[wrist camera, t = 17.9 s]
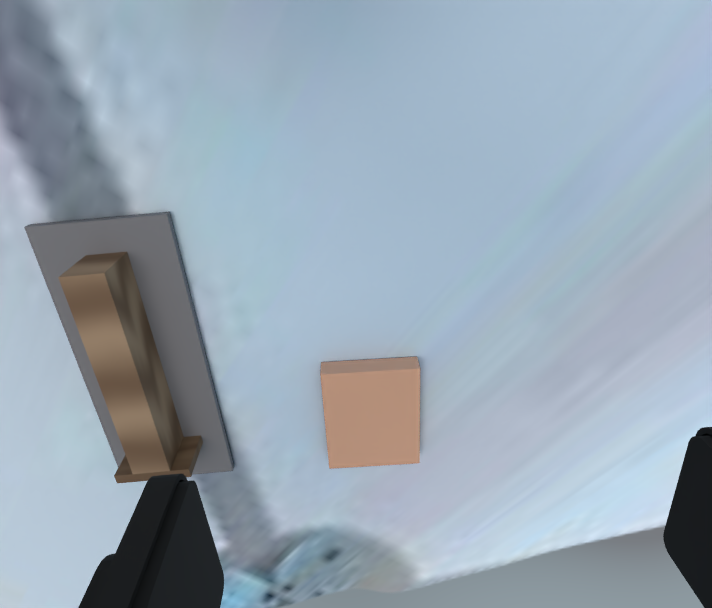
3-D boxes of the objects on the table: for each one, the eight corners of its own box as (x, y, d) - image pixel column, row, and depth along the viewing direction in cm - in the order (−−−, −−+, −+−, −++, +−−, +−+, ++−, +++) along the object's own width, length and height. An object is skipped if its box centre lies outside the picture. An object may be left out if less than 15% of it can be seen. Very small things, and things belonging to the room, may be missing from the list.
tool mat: (29, 224, 36) (24, 227, 35) (169, 211, 36) (166, 214, 35) (125, 475, 46) (123, 480, 46) (234, 465, 46) (232, 470, 46)
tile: (320, 374, 40) (329, 468, 45) (420, 368, 40) (419, 463, 45) (321, 360, 42) (329, 452, 46) (416, 354, 42) (416, 446, 46)
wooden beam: (65, 257, 36) (35, 279, 33) (148, 249, 36) (127, 270, 32) (134, 448, 44) (117, 483, 41) (202, 442, 44) (191, 476, 40)
